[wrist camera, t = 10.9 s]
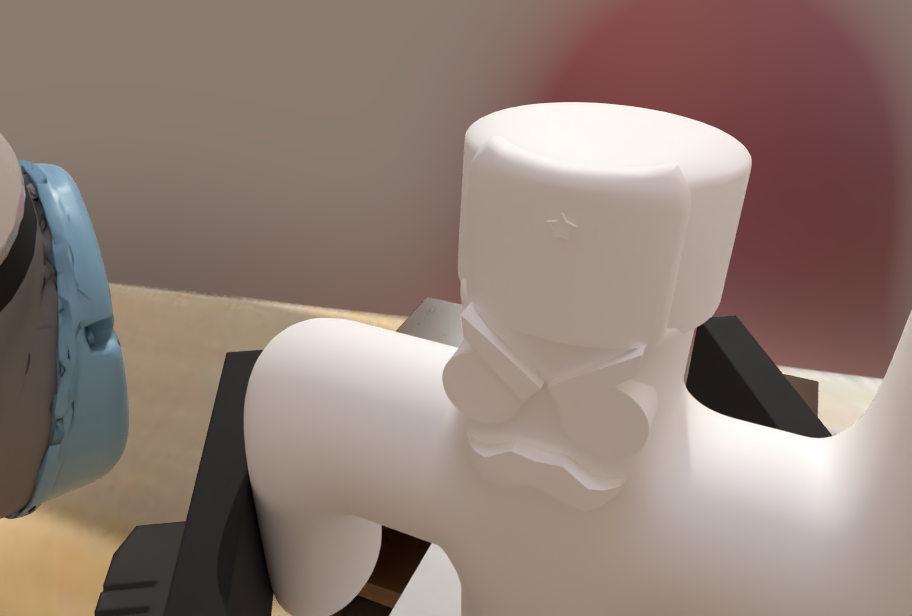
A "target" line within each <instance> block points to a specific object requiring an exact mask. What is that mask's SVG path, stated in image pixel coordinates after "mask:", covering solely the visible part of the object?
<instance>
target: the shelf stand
mask: <svg viewBox="0 0 912 616" xmlns="http://www.w3.org/2000/svg"><path fill="white" fill-rule="evenodd" d="M461 314H462V305H461V304H456V303H452V302H447V301H442V300H438V299H433V298H428V297H426V298H425V299H424V300H423V301H422V303H421V304H420V305H419V306H418V307H417V308H416V309H415V310H414V312H413V313H412V314H411V315H410V316H409V317H408V318H407V319H406V321H405V322H404V323H403V324H402V325H401V326H400V327H399V329H398V330H397V331H396V332H399V333H403V334H406V335H410V336H414V337H418V338H422V339H426V340H430V341H434V342H438V343H442V344H446V345H449V346H453V347H457V348H459V347H460V345H461V344H462V343H463V328H462V320H461ZM691 356H692V354H689V355H688V360H687V365H686V370H685V374H684V380H683V381H684V384H685V386H686V382H687V377H688V372H689V366H690V361H691ZM783 375H784V376H785V377H786V379H787V380H788V381H789V382H790V384H791V385H792V386H793V387H794V389H795V390H796V391H797V392H798V394H799V395H800V396H801V397H802V399H803V400H804V401H805V402H806V404H807V405H808V406H809V407H810V409H811V410H812V411H813V412H814V414H815V415H816V416H817V417H818V381H813V380H809V379H804V378H799V377H795V376H790V375H786V374H783ZM381 527H382V537H381V547H380V551H379V556H378V559H377V562H376V564H375V567H374V570H373V572H372V574H371V576H370V577H369V579H368V581H367V582H366V584H365V585H364V587H363V588H362V589H361V591H360V592H359V593H358V594H357V595H358V596H361V597H363V598H366V599H369V600H371V601H374V602H377V603H379V604H382V605H385V606H387V607H390V608H394V606H395V605H396V603H397V601H398V600H399V598H400V596H401V595H402V593H403V591H404V589H405V588H406V586H407V584H408V583H409V581H410V579H411V578H412V576H413V574H414V572H415V571H416V569H417V567H418V566H419V564H420V562H421V561H422V559H423V557H424V556H425V554H426V552H427V550H428V549H429V547H430V545H431V544H432V543H430V542H428V541H425V540H422V539H419V538H416V537H414V536H411V535H408V534H405V533H402V532H400V531H397V530H394V529H391V528H388V527H386V526H383V525H381ZM349 604H350V603H348V604H347V605H346V606H345V607H344V608H342V609H341V610H339V611H338V612H336V613H334V614H332V615H330V616H342V615H343V614H344V612H345V610H346V609H347V607H348V606H349Z"/></svg>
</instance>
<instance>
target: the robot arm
mask: <svg viewBox="0 0 912 616" xmlns="http://www.w3.org/2000/svg"><path fill="white" fill-rule="evenodd" d="M113 325H114V316H113V312H112V302H111V294H110V289H109V285H108V280H107V276H106V272H105V268H104V265H103V261H102V257H101V253H100V250H99V246H98V242H97V239H96V236H95V232H94V229H93V226H92V223H91V220H90V217H89V214H88V211H87V209H86V206H85V204H84V201H83V199H82V197H81V194H80V191H79V189H78V188H77V186H76V184H75V182H74V180H73V179H72V177H71V176H70V175H69V174H68V173H67V172H66V171H65V170H63V169H62V168H60V167H59V166H56V165H52V164H34V163H32V162H28V161H25V160H21V161H18V160H17V158H16V155H15V153H14V151H13V150H12V148H11V147H10V145H9V144H8V142H7V141H6V140H5V138H4V137H3V135H2V134H1V133H0V519H1V518H4V517H5V518H8V519H14V518H19V517H23V516H26V515H28V514H30V513H32V512H34V511H35V510H36V509H37V508H38V507H39V506H40V505H41V504H42V503H44V502H46V501H49V500H51V499H54V498H56V497H59V496H61V495H63V494H66V493H68V492H71V491H73V490H76V489H78V488H81V487H83V486H85V485H88V484H90V483H93V482H95V481H97V480H98V479H100V478H102V477H103V476H104V475H106V474H107V473H108V472H109V471H110V470H111V469H112V468H113V467H114V466H115V465H116V464H117V462H118V461H119V459H120V457H121V455H122V453H123V451H124V449H125V446H126V442H127V437H128V428H129V409H128V395H127V385H126V377H125V369H124V363H123V357H122V352H121V346H120V343H119V340H118V337H117V334H116V332H115V331H114V329H113ZM262 351H263V350H255V351H241V352H228V353H227V354H226V358H225V362H224V366H223V370H222V374H221V378H220V382H219V387H218V391H217V395H216V399H215V403H214V407H213V411H212V416H211V420H210V424H209V428H208V432H207V436H206V440H205V445H204V449H203V453H202V457H201V461H200V465H199V469H198V474H197V478H196V482H195V486H194V490H193V494H192V498H191V503H190V507H189V511H188V515H187V519H186V521H185V522H174V523H163V524H152V525H142V526H136V527H135V528H134V530H133V531H132V532H131V533H130V535H129V536H128V537H127V538H126V540H125V541H124V542H123V543H122V545H121V546H120V547H119V548H118V550H117V551H116V552H115V553H114V555H113V558H112V561H111V564H110V567H109V570H108V573H107V576H106V579H105V582H104V585H103V592H101V594H100V597H99V600H98V603H97V606H96V609H95V616H271V611H272V601H273V590H272V588H271V584H270V579H269V575H268V569H267V564H266V559H265V554H264V549H263V544H262V539H261V534H260V529H259V524H258V519H257V514H256V509H255V504H254V499H253V493H252V488H251V483H250V477H249V472H248V465H247V458H246V450H245V439H244V403H245V397H246V391H247V386H248V382H249V379H250V376H251V373H252V370H253V368H254V365H255V363H256V361H257V359H258V357H259V356H260V354H261V353H262ZM686 388H687V390H688V392H689V393H690V394H691V395H692V396H693V397H694V398H695V399H696V400H697V401H698V402H700V403H701V404H702V405H704V406H705V407H707V408H709V409H711V410H713V411H715V412H717V413H720V414H722V415H725V416H728V417H732V418H735V419H739V420H743V421H747V422H751V423H754V424H758V425H762V426H766V427H770V428H774V429H778V430H782V431H786V432H790V433H794V434H797V435H801V436H805V437H811V438H826V437H831V436H832V435H831V433H830V432H829V431H828V430H827V428H826V427H825V426H824V425H823V423H822V422H821V421H820V420H819V419H818V417H817V416H816V415H815V414H814V412H813V411H812V410H811V409H810V407H809V406H808V405H807V404H806V402H805V401H804V400H803V399H802V397H801V396H800V395H799V394H798V392H797V391H796V390H795V389H794V387H793V386H792V385H791V384H790V382H789V381H788V380H787V379H786V377H785V376H784V375H783V374H782V372H781V371H780V370H779V369H778V367H777V366H776V365H775V364H774V362H773V361H772V360H771V359H770V357H769V356H768V355H767V354H766V353H765V351H764V350H763V349H762V348H761V346H760V345H759V344H758V343H757V341H756V340H755V339H754V338H753V336H752V335H751V334H750V333H749V331H748V330H747V329H746V328H745V326H744V325H743V324H742V323H741V321H740V320H739V319H738V318H737V316H727V317H712V318H709V319H708V320H707V321H706V322H704V323H703V324H702V325H700V326H698V327H697V331H696V336H695V341H694V346H693V352H692V356H691V361H690V366H689V372H688V377H687V382H686Z"/></svg>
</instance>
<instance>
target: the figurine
mask: <svg viewBox="0 0 912 616" xmlns="http://www.w3.org/2000/svg"><path fill="white" fill-rule="evenodd" d="M750 171H751V156H750V154H749V152H748V151H747V149H746V148H745V146H744V145H742V144H741V143H740V142H739V141H738V140H736V139H734V137H732V136H730V135H728V134H727V133H725V132H723V131H721V130H719V129H717V128H714V127H712V126H710V125H707V124H705V123H702V122H699V121H696V120H693V119H689V118H686V117H682V116H678V115H674V114H671V113H666V112H661V111H656V110H651V109H645V108H638V107H631V106H624V105H615V104H602V103H581V102H576V103H575V102H571V103H570V102H569V103H568V102H567V103H566V102H564V103H562V102H561V103H543V104H532V105H524V106H518V107H513V108H508V109H504V110H501V111H497V112H494V113H491V114H489V115H487V116H485V117H482V118H480V119H479V120H477V121H476V122H475V123H473V124H472V125H471V126H470V127H469V129H468V130H467V132H466V135H465V142H464V161H463V180H462V197H461V215H460V235H459V252H458V276H459V279H460V281H461V290H460V292H461V302H462V314H461V320H462V328H463V343H462V344H461V345H460V347H459V348H457V347H453V346H449V345H446V344H442V343H438V342H434V341H430V340H426V339H422V338H418V337H414V336H410V335H406V334H403V333H399V332H395V331H391V330H387V329H383V328H379V327H375V326H371V325H367V324H363V323H359V322H355V321H351V320H345V319H338V318H315V319H308V320H305V321H302V322H299V323H297V324H294V325H291V326H290V327H288V328H287V329H285V330H284V331H282V332H281V333H279V334H278V335H276V336H275V337H274V338H273V339H272V340H271V341H270V342H269V344H268V345H267V346H266V347H265V349H264V350H263V351H262V353H261V354H260V356H259V357H258V359H257V361H256V363H255V365H254V368H253V370H252V373H251V376H250V379H249V382H248V386H247V391H246V397H245V403H244V439H245V450H246V458H247V465H248V472H249V477H250V483H251V488H252V493H253V499H254V504H255V509H256V514H257V519H258V524H259V529H260V534H261V539H262V544H263V549H264V554H265V559H266V564H267V569H268V575H269V579H270V584H271V588H272V590H273V593H274V595H275V597H276V599H277V601H278V603H279V604H280V605H281V606H282V607H283V609H284V610H285V611H287V612H288V613H290V614H291V615H293V616H330V615H332V614H334V613H336V612H338V611H339V610H341V609H342V608H344V607H345V606H346V605H347V604H348V603H350V602H351V601H352V600H353V599H354V598H355V597H356V596H357V594H358V593H359V592H360V591H361V589H362V588H363V587H364V585H365V584H366V582H367V581H368V579H369V577H370V576H371V574H372V572H373V570H374V567H375V564H376V562H377V559H378V556H379V551H380V547H381V537H382V527H381V525H383V526H386V527H388V528H391V529H394V530H397V531H400V532H402V533H405V534H408V535H411V536H414V537H416V538H419V539H422V540H425V541H428V542H430V543H432V544H431V545H430V547H429V549H428V550H427V552H426V554H425V556H424V557H423V559H422V561H421V562H420V564H419V566H418V567H417V569H416V571H415V572H414V574H413V576H412V578H411V579H410V581H409V583H408V584H407V586H406V588H405V589H404V591H403V593H402V595H401V596H400V598H399V600H398V601H397V603H396V605H395V606H394V608H393V610H392V611H391V613H390V615H389V616H912V310H911V313H910V316H909V318H908V321H907V323H906V326H905V328H904V331H903V334H902V336H901V339H900V341H899V344H898V346H897V349H896V351H895V354H894V357H893V359H892V361H891V363H890V366H889V368H888V371H887V373H886V375H885V377H884V379H883V381H882V384H881V385H880V387H879V389H878V391H877V393H876V395H875V397H874V399H873V400H872V402H871V404H870V406H869V407H868V409H867V410H866V412H865V413H864V414H863V415H862V416H861V417H860V419H859V420H858V421H857V422H856V423H854V424H853V425H852V426H850V427H849V428H848V429H846V430H844V431H842V432H841V433H839V434H836V435H834V436H831V437H826V438H811V437H805V436H801V435H797V434H794V433H790V432H786V431H782V430H778V429H774V428H770V427H766V426H762V425H758V424H754V423H751V422H747V421H743V420H739V419H735V418H732V417H728V416H725V415H722V414H720V413H717V412H715V411H713V410H711V409H709V408H707V407H705V406H704V405H702V404H701V403H700V402H698V401H697V400H696V399H695V398H694V397H693V396H692V395H691V394H690V393H689V392H688V390H687V388H686V386H685V384H684V381H683V380H684V374H685V370H686V365H687V360H688V355H689V350H690V346H691V341H692V337H693V333H694V329H695V328H696V327H698V326H700V325H702V324H703V323H704V322H706V321H707V320H708V319H709V318H710V317H711V316H713V314H714V312H715V311H716V309H717V307H718V306H719V304H720V300H721V296H722V291H723V287H724V283H725V279H726V274H727V269H728V266H729V261H730V257H731V252H732V248H733V244H734V240H735V235H736V230H737V227H738V222H739V218H740V214H741V209H742V205H743V201H744V196H745V192H746V188H747V183H748V179H749V175H750Z"/></svg>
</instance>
